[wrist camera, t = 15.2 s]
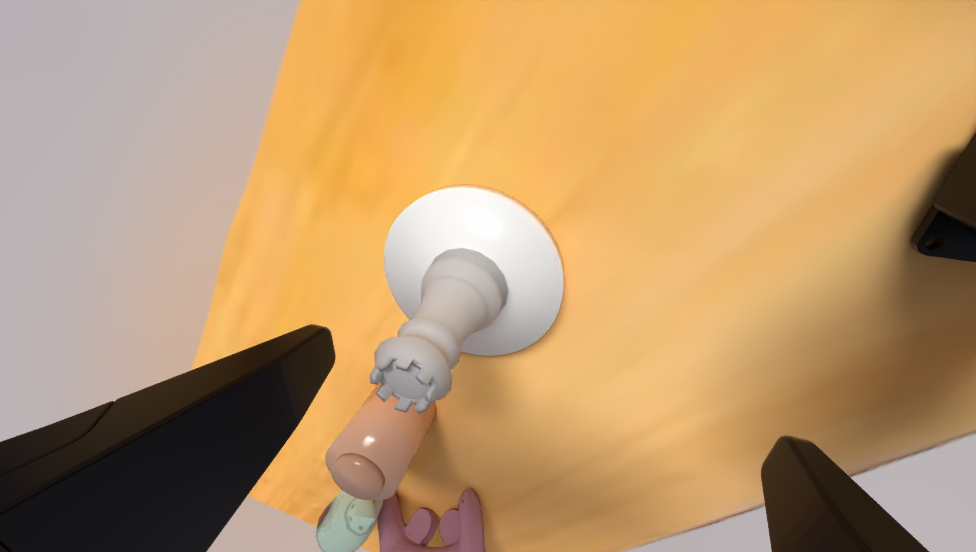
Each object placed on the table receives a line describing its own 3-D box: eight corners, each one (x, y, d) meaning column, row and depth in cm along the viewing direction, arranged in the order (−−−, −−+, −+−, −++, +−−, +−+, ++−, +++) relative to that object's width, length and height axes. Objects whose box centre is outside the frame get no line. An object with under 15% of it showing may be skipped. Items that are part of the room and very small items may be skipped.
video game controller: (407, 495, 38) (391, 586, 34) (376, 486, 35) (354, 586, 31) (498, 496, 34) (493, 600, 30) (472, 486, 31) (462, 601, 27)
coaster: (579, 198, 18) (577, 205, 18) (552, 360, 23) (549, 372, 23) (385, 173, 21) (375, 178, 20) (398, 326, 26) (391, 335, 25)
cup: (444, 426, 29) (404, 511, 23) (390, 428, 31) (340, 507, 25) (421, 373, 27) (372, 450, 22) (365, 378, 29) (306, 451, 23)
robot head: (378, 502, 37) (336, 583, 32) (342, 479, 37) (292, 555, 32) (411, 467, 33) (368, 553, 27) (370, 441, 33) (318, 522, 27)
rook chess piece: (423, 296, 22) (340, 399, 16) (442, 229, 20) (354, 319, 13) (494, 328, 22) (441, 448, 16) (522, 265, 20) (473, 375, 13)
